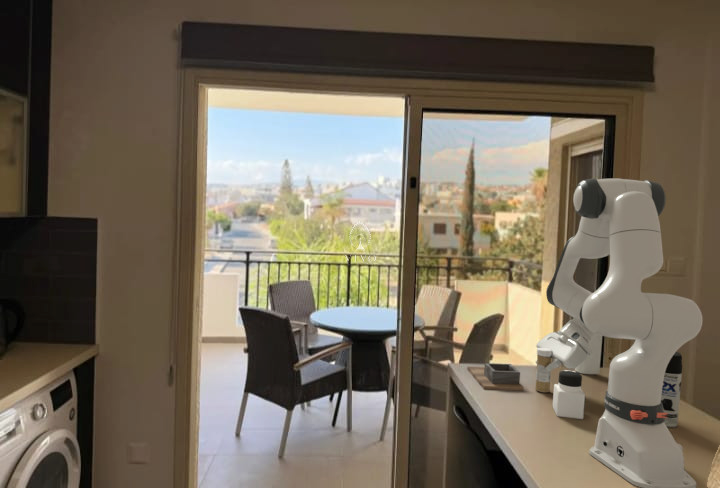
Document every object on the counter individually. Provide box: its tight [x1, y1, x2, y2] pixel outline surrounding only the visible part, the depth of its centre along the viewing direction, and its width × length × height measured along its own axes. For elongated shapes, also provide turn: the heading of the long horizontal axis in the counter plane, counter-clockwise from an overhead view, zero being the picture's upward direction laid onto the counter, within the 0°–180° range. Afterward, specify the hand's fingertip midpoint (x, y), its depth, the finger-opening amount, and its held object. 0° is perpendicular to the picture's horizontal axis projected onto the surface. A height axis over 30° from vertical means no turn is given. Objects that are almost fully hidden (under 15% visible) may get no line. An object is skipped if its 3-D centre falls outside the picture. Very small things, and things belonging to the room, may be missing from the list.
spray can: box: [661, 351, 683, 429], centre depth 140 cm, size 7×7×20 cm
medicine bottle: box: [552, 369, 586, 420], centre depth 143 cm, size 7×7×12 cm
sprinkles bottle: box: [535, 348, 552, 393], centre depth 161 cm, size 5×5×13 cm
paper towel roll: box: [574, 334, 603, 375], centre depth 183 cm, size 7×6×21 cm
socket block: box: [466, 362, 525, 391], centre depth 171 cm, size 20×13×5 cm, turn 3°
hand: (541, 367), depth 161 cm, fingers closed on sprinkles bottle, 4 cm apart
